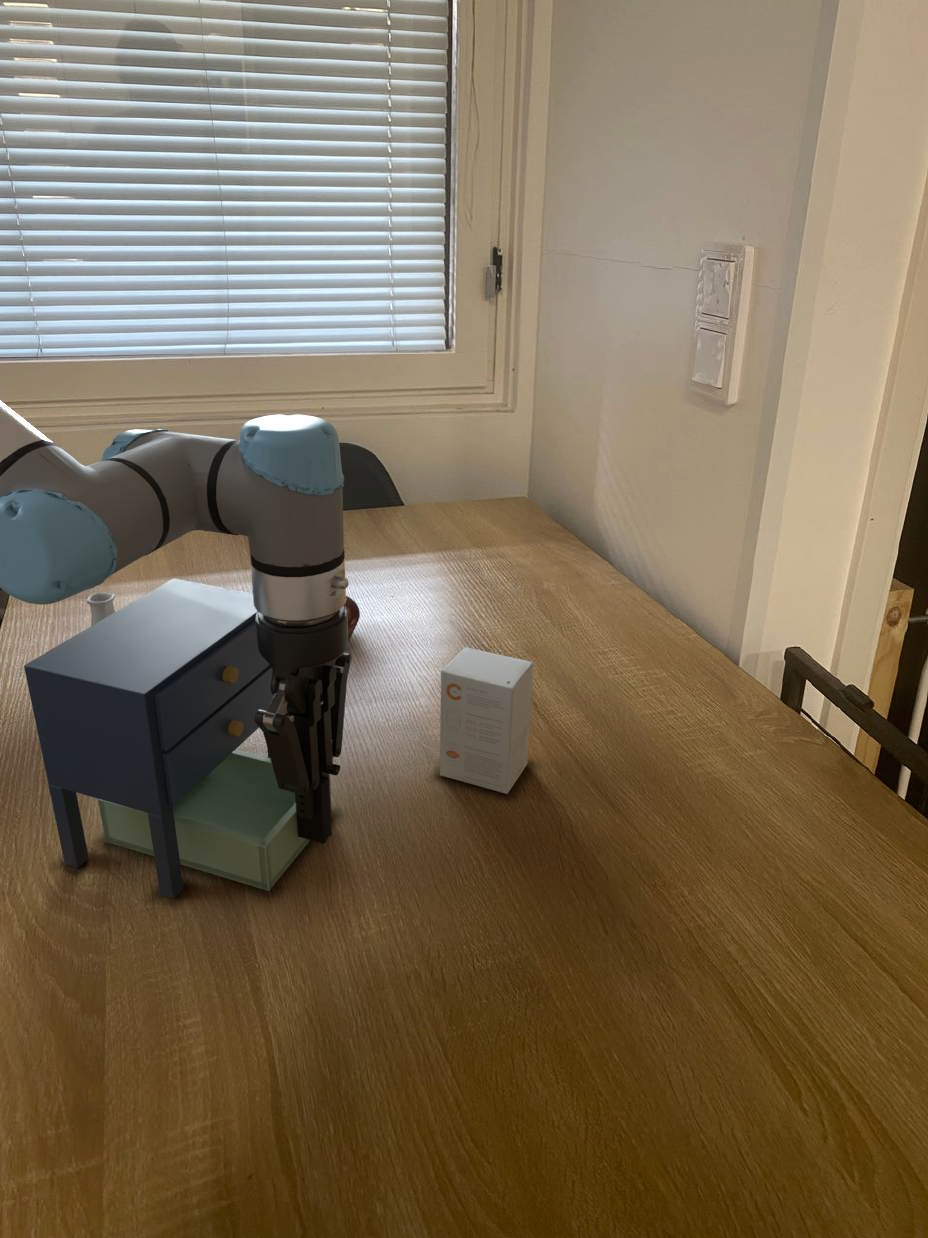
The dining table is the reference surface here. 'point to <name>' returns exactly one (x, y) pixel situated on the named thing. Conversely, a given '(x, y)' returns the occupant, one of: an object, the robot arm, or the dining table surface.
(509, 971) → the dining table surface
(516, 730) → the small box
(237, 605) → the drawer cabinet
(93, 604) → the flask
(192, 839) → the storage tub
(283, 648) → the robot arm
